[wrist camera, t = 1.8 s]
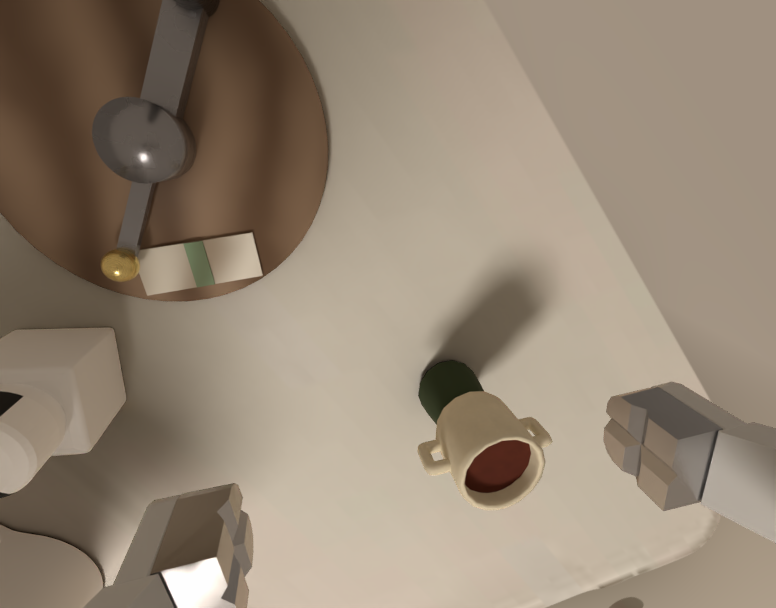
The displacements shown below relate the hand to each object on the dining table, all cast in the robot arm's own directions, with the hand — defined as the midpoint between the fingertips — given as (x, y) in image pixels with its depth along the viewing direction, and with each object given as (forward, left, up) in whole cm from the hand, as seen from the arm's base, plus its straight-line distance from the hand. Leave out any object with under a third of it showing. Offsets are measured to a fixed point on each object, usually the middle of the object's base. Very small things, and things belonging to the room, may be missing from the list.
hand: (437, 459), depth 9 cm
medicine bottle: (-23, -8, -28) cm, 37 cm away
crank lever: (-11, +9, -27) cm, 30 cm away
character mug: (+9, -18, -28) cm, 34 cm away
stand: (-11, +8, -28) cm, 31 cm away
